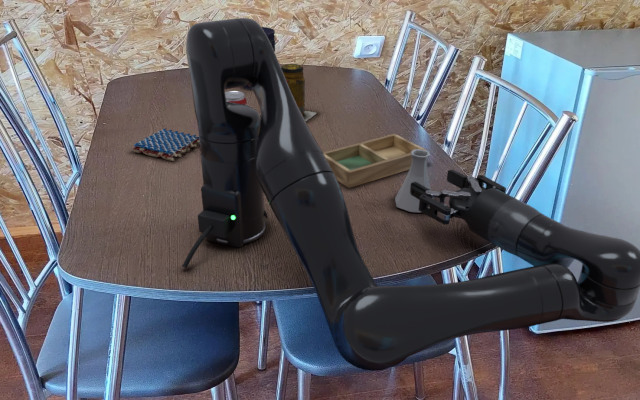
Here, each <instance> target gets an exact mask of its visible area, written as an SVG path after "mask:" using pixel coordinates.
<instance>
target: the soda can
mask: <svg viewBox="0 0 640 400" xmlns="http://www.w3.org/2000/svg"><path fill="white" fill-rule="evenodd" d="M245 95H246V94H245V93H244V92H242V91H237V90H229V91H225V96H226V101H228V102H232V103H238V104H243V105H246V106H248V104H247V98H246V97H245Z"/></svg>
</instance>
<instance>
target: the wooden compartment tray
mask: <svg viewBox="0 0 640 400" xmlns="http://www.w3.org/2000/svg"><path fill="white" fill-rule="evenodd" d="M414 149H423V150H426V151H428V150H427V149H426V148H424V147H422V146H420V145H418V144H416V143H414V142H412V141H410V140H408V139H407V138H404V137H402V136H400V135H398V134H397V133H392V134H388V135H384V136H380V137H377V138H371V139H369V140H365V141H361V142H358V143H353V144H349V145H346V146H341V147H338V148H335V149H330V150H326V151H322V152H323V154H324V156H325V157H326V159H327V161H328V163H329V165H330V167H331V169H332V171H333V172H334V174H335V176H336V179H337V181H338V183H340V184H342V185H343V186H345V187H346V188H347V189H352V188H354V187H358V186H361V185H365V184H368V183H370V182H373V181H377V180H380V179H384V178H386V177H389V176H393V175H396V174H399V173H403V172H406V171H409V170H410V166H411V163H412V155H411V151H413V150H414Z"/></svg>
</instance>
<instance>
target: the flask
mask: <svg viewBox="0 0 640 400" xmlns="http://www.w3.org/2000/svg"><path fill="white" fill-rule="evenodd" d="M426 150H427V149H426ZM426 150H423V149H414V150H413V151H411V155H412V163H411V166H410V170H408V172H407V174H406V177H405V179H404V180H403V183H402V185H401V187H400V188H399V190H398V192H397V194H396V196H395V198H394V201H395V206H396V208H398V209H401V210H404V211H406V212H410V213H421V212H420V211H419V210H418V209H419V201H420V200H419V199H417V198H416V197H414V196H412V195H411V194H410V187H411V183H413V182H417V183H419V184H421V185H423V186H424V187H426V188H428V189H430V190H431V191H432V188H431V184H430V179H429V175H428V174H429V173H428V160H429V158H430V157H431V154H430V153H431V152H430V151H429V150H427V151H426ZM432 199H434V197H433V198H432ZM427 208H429V209H430V207H427Z"/></svg>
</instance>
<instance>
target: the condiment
mask: <svg viewBox="0 0 640 400" xmlns="http://www.w3.org/2000/svg"><path fill="white" fill-rule="evenodd" d="M280 67H281V69H282V72H283V74H284V77H285V79H286V81H287V84H288V86H289V88H290V91H291V93H292V95H293V97H294V99H295V102H296V104H297V106H298V108H299V110H300V112H301V114H302V116H303V118H304V120H305V122H307V121H309V120H310V119H311V118H313V117H314V116H315V115H316V114H317V112H315V111H310V110H306V109H305V108H306V107H305V106H306V104H305V103H306V99H305V98H306V95H305V94H306V89H305V88H306V83H305V82H306V79H305V76H304V67H303V65H301V64H296V63H287V64H283V65H282V66H280Z"/></svg>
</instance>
